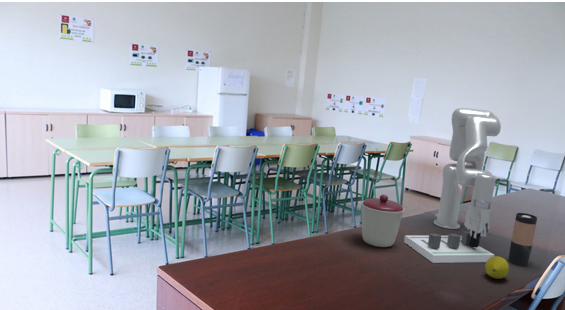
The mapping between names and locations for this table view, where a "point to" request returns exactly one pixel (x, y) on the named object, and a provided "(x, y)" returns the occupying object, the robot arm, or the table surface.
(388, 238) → the canister
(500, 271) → the lemon
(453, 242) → the block
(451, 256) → the breaker panel
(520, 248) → the travel mug
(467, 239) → the block
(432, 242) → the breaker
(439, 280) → the table surface
